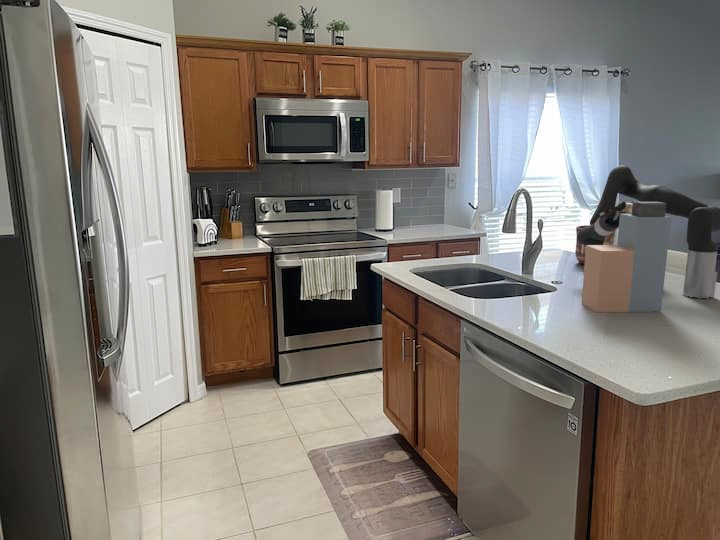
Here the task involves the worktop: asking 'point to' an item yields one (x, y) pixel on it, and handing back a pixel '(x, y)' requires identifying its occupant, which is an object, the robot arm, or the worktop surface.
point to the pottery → (582, 248)
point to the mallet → (645, 209)
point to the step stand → (628, 267)
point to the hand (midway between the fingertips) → (629, 203)
